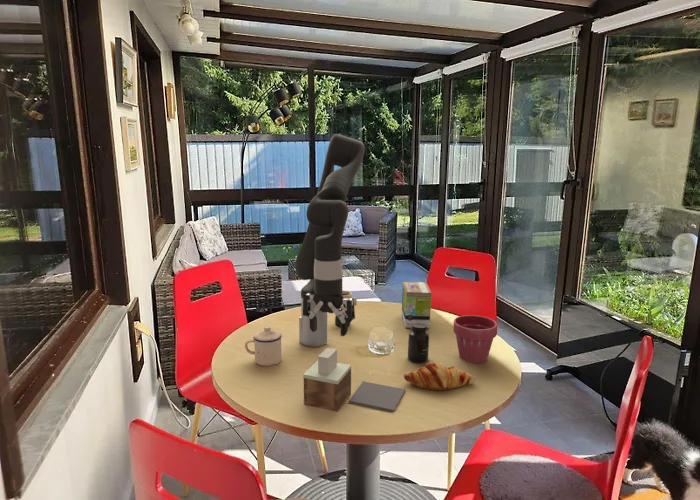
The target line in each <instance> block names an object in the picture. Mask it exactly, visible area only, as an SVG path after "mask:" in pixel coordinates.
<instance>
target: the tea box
mask: <svg viewBox="0 0 700 500" xmlns="http://www.w3.org/2000/svg"><path fill="white" fill-rule="evenodd" d="M401 300H402V301H401V317H402V321H403V325H404V328H406V329H408V328H409V329H412V324H414V323H424V324H426V325H427V329H430V324H431V310H432V309H431V308H432V291H431V289H430V287H429V285H428V283H427V282H425V281H424V282H421V281H420V282H417V281H415V282H414V281H403V282H402V299H401Z"/></svg>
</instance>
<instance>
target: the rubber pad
mask: <svg viewBox="0 0 700 500" xmlns="http://www.w3.org/2000/svg"><path fill="white" fill-rule="evenodd" d="M405 392H406V388H401V387H395V386H390V385H385V384H380V383H374V382H370V381H362V382H360V385H359V386H358V387H357V388H356V390H355V391H354V393H353V394H351V397H349V398H348V403H349V404H354V405H358V406H363V407H369V408H372V409H378V410H383V411H387V412H391V413H394V412H395V411H396V409H397V407H398V406H399V403H400V402H401V400H402V398H403V396H404V394H405Z"/></svg>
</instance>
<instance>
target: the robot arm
mask: <svg viewBox="0 0 700 500" xmlns="http://www.w3.org/2000/svg"><path fill="white" fill-rule="evenodd" d="M365 151H366V147H365V144H364V142H362V141H361V140H358V139H355V138H352V137H349V136H345V135H342V134H339V133H335V134H334V135H332V137H331V138H330V140H329V143H328V145H327V150H326V155H325V159H324V164H323V169H322V173H321V177H320V182H319V187H318V190H317V192H316V195H314V196H313V198H312V199H311V200H310V202H309V204H308V205H307V209H306V219H307V221H308V225H307V229H306V233H305V235H304V239H303V241H302V244H301V246H300V248H299V252H298V254H297V257H296V260H295V273H296V275H297V277H298V278H299V279H300V280H304V281H305V280H306V281H307V280H308V282H307V283H306V284H305V285H304V286H303V287H302V288H301V290H300V306H301V307H300V311H301V314H300V315H301V316H299V318H298V327H299V329H298V330H299V331H298V332H299V333H298V334H299V335H298V336H299V337H298V338H299V340H298V343H300V344H303V346H305V347H313V348H315V347H322V346H325V345H326V344H327V343H328V314H334V315H335V316H337V317H338V318H339V319H340V321H341V322H342V323H341V326H340V336H341V337H345V335H347V334H348V332H349V331H348V330H349V325H348V322H352V321H353V320H355V319H356V311H355V306H354V299H353V298H354V297H352V298H350V299H344V298H343V296H342V291H343V273H344V272H343V263H342V242H343V241H342V240H343V235H344V230H345V228H346V227H345V226H346V223H347V221H348V217H349V208H348V205H347V204H346V200H347V196H348V193H349V189H350V187H351V185H352V183H353V181H354V179H355V177H356V175H357V173H358V171H359V169H360V167H361V165H362V162H363V159H364V155H365ZM335 166H337V167H340V168H338V169H336V170H335ZM343 303H344V304H345V306H346V307H347V315H346V313H345V310H344V309H343V307H342V306H341V305H342V304H343ZM338 310H339V311H338Z"/></svg>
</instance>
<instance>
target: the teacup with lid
mask: <svg viewBox="0 0 700 500" xmlns="http://www.w3.org/2000/svg"><path fill="white" fill-rule="evenodd" d="M282 337H283V336H282V333H281V332H280V331H279V330H278V329H273V328H271V326H264V329H262V330H258V331H256V332H255V333H254V334H253V337H252V339H248V340H246V342H245V343H244V349H245V351H246V352H247V353H248V354H250V355H254V361H255V363H256V364H257V365H260V366H263V367H264V366H265V367H270V366H276V365H277V364H279V363H280V362H281V361H282V358H283V357H282ZM249 343H254V351H253V350H250V349H249V347H248V344H249Z"/></svg>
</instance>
